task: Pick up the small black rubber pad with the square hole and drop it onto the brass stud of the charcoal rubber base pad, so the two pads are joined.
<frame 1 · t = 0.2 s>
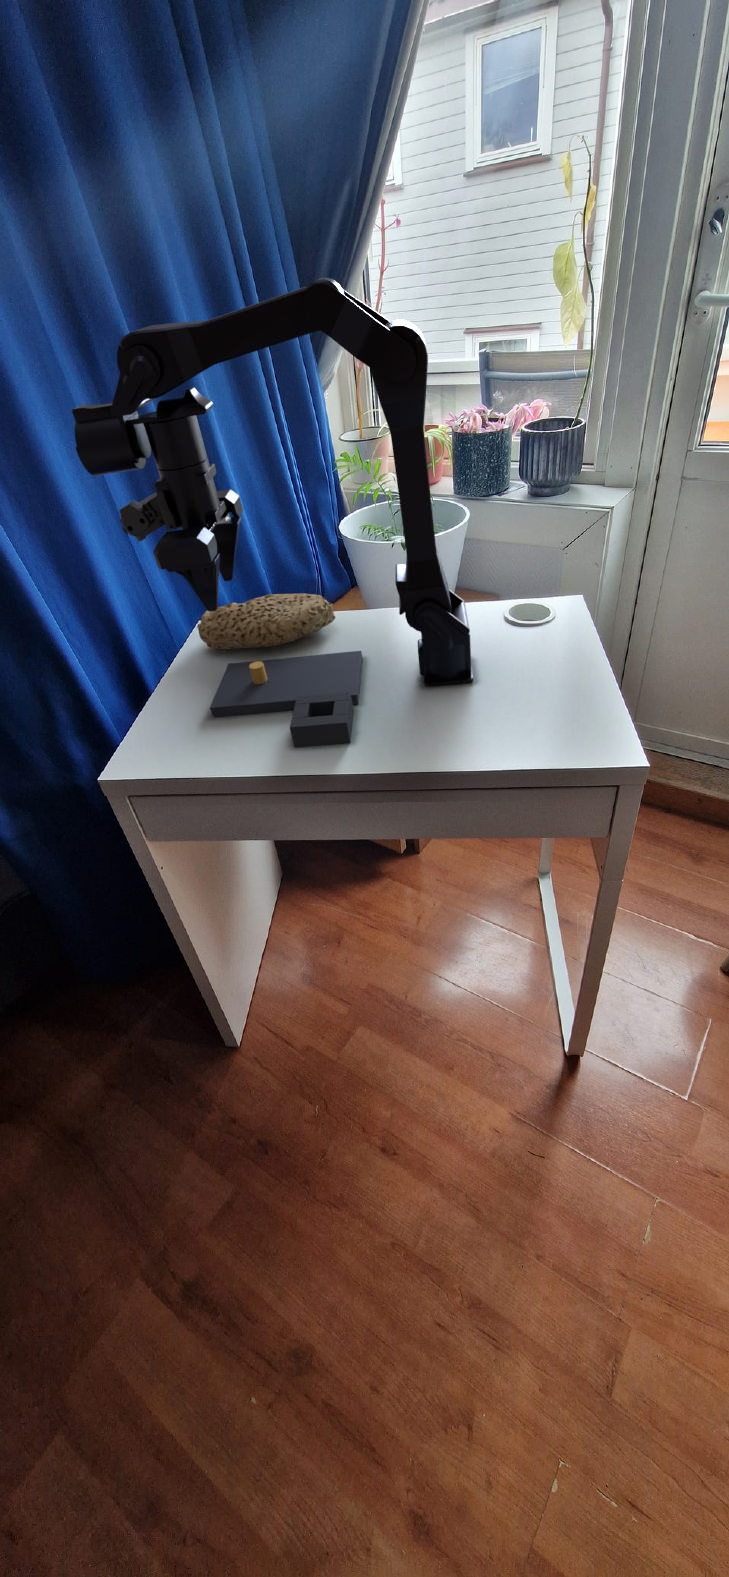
hand: (220, 595, 83), 14 cm above the table, tool pointing down, fingers open, 9 cm apart
sponge: (273, 640, 104), on the table
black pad: (324, 728, 82), on the table
base pad: (290, 687, 92), on the table
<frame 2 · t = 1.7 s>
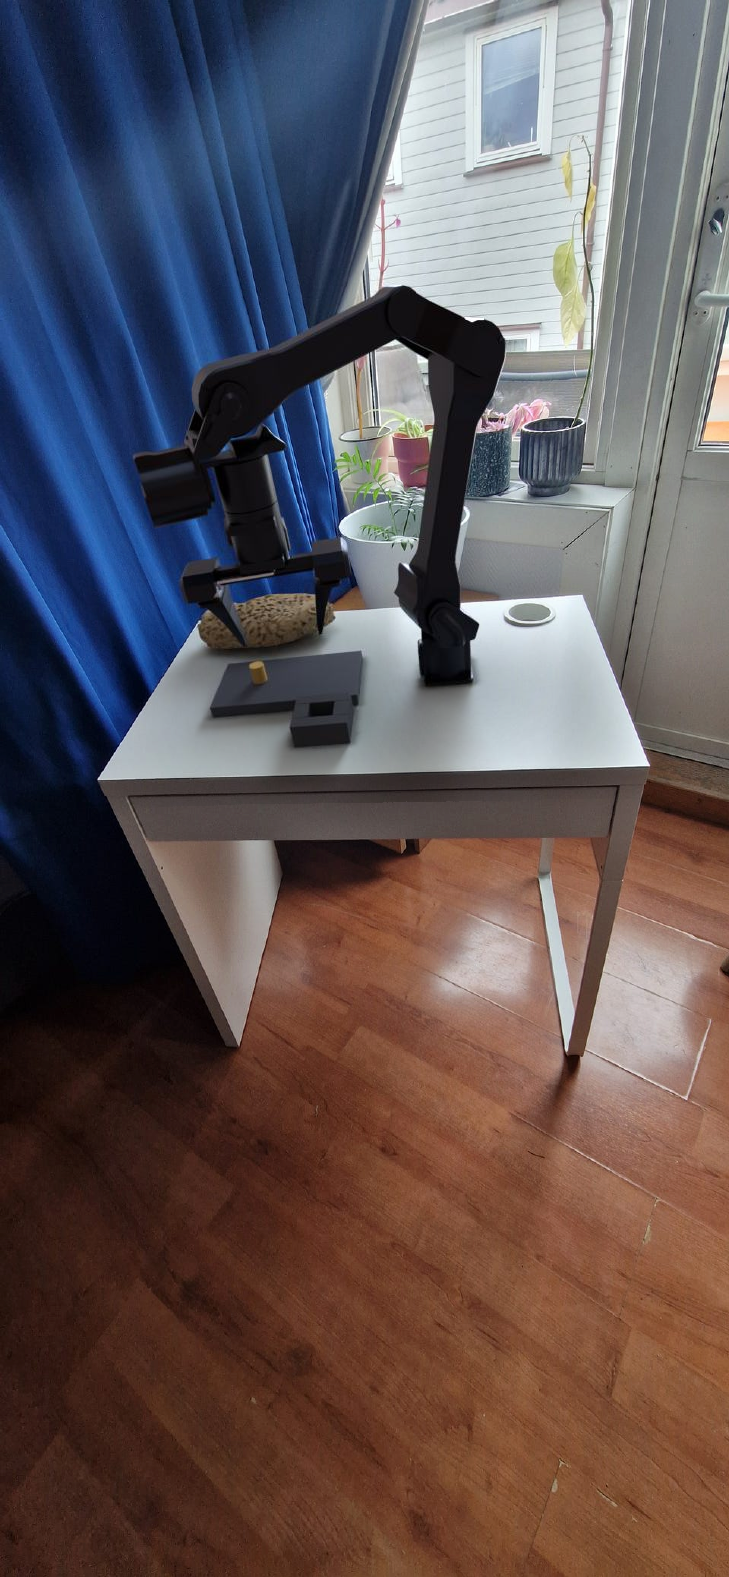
hand: (282, 639, 78), 11 cm above the table, tool pointing down, fingers open, 9 cm apart
nothing on the table moved.
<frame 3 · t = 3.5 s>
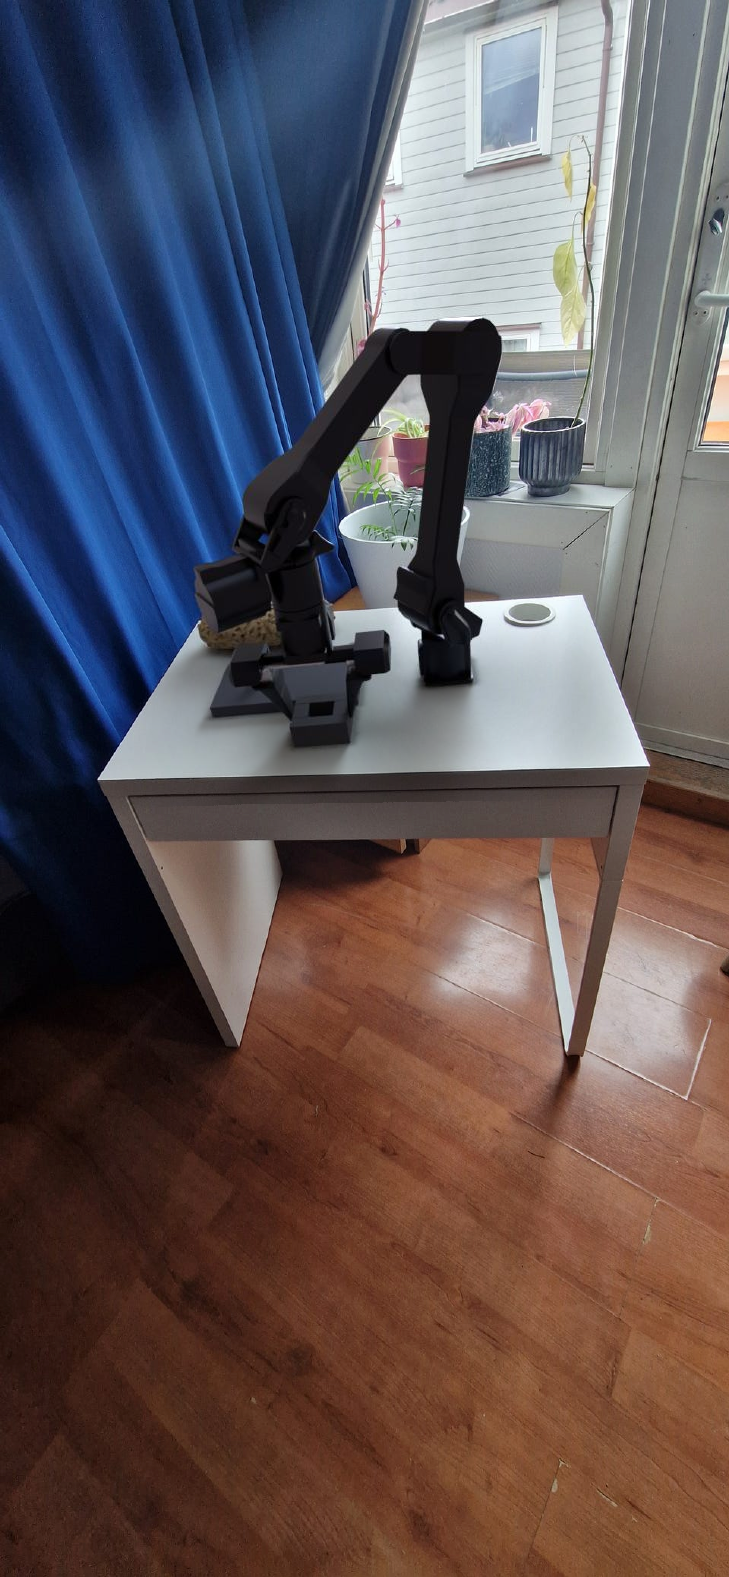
hand: (323, 718, 82), 2 cm above the table, tool pointing down, fingers closed on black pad, 7 cm apart
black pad: (324, 728, 82), on the table, touching gripper
everything else where it was.
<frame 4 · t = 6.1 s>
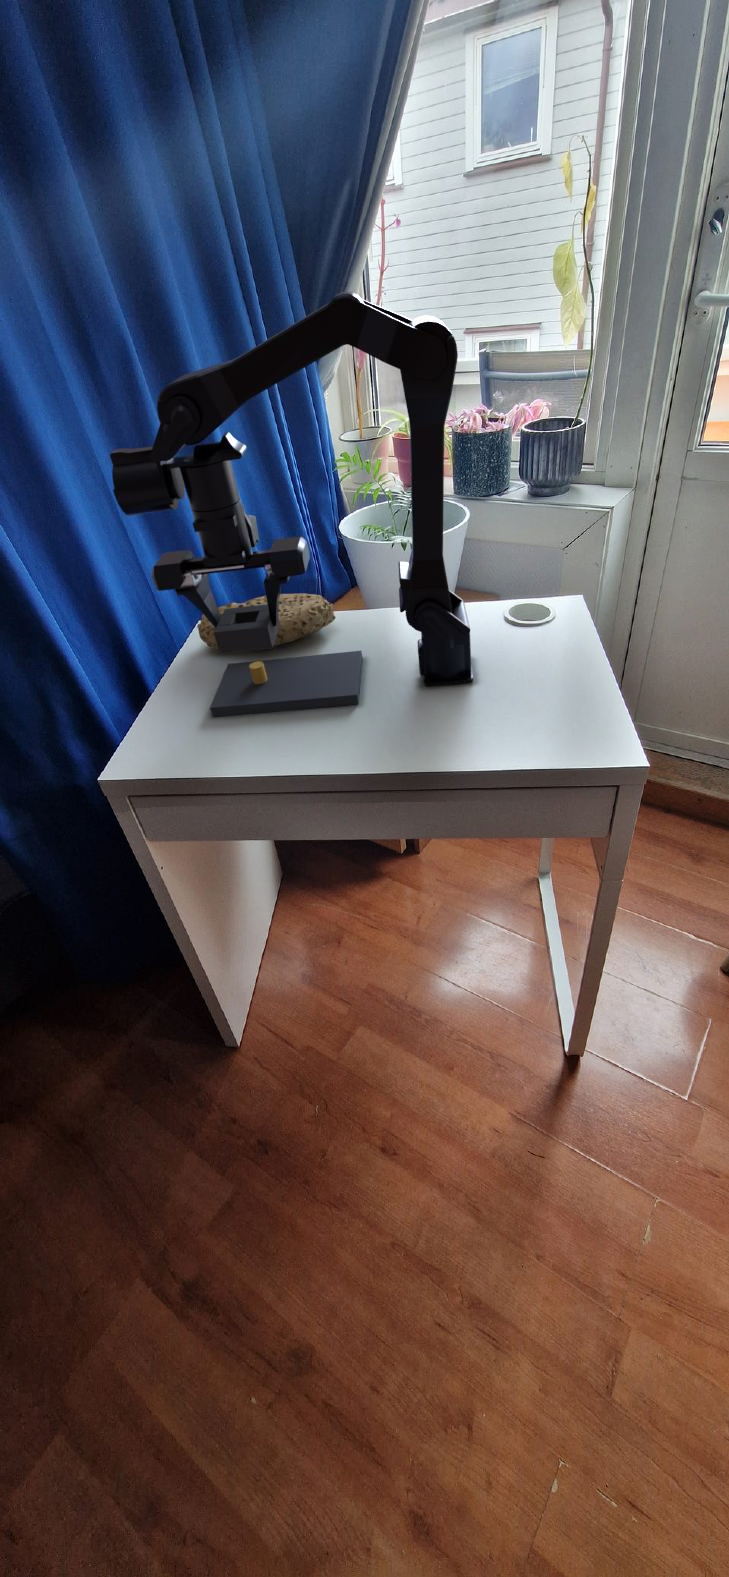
hand: (248, 627, 85), 10 cm above the table, tool pointing down, fingers closed on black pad, 7 cm apart
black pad: (250, 638, 86), point 8 cm above the table, touching gripper
everything else where it was.
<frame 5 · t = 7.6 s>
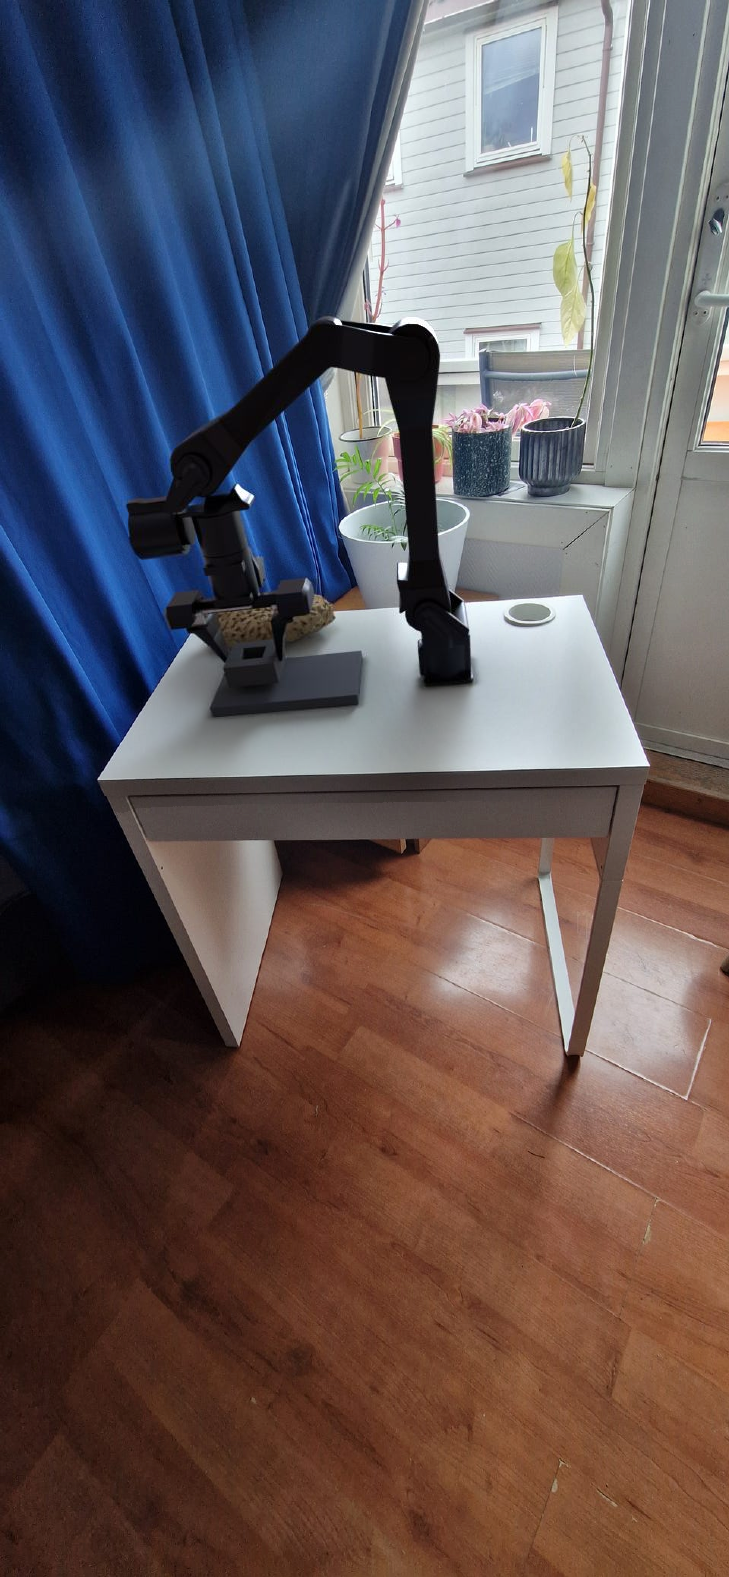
hand: (255, 662, 89), 4 cm above the table, tool pointing down, fingers closed on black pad, 7 cm apart
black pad: (258, 672, 90), point 3 cm above the table, touching gripper
everything else where it was.
when the fingers open (3 cm above the table, at t = 8.6 s): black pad stays where it is, resting on base pad.
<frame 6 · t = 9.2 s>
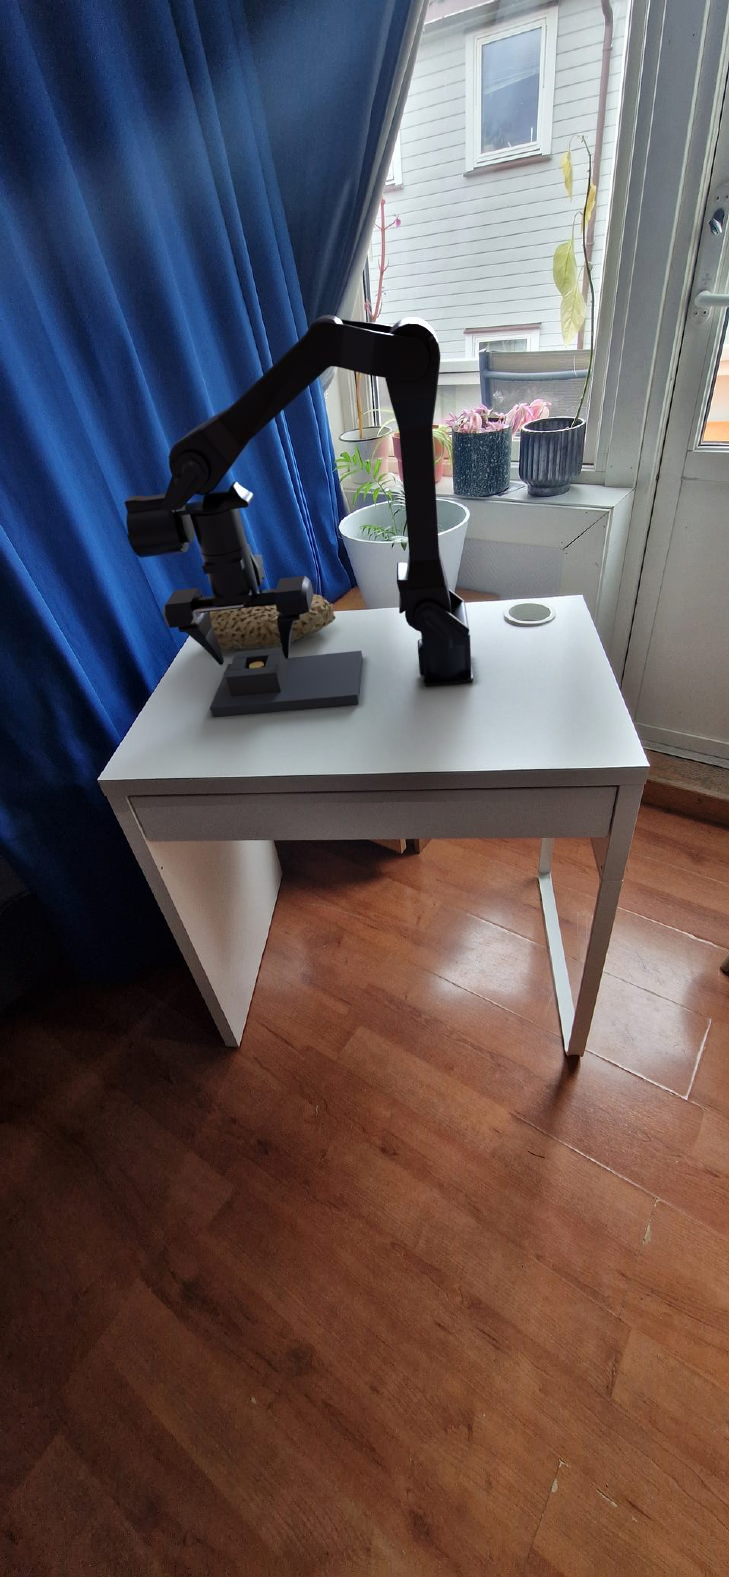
hand: (254, 660, 89), 5 cm above the table, tool pointing down, fingers open, 9 cm apart
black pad: (260, 680, 91), point 1 cm above the table, touching base pad
everything else where it was.
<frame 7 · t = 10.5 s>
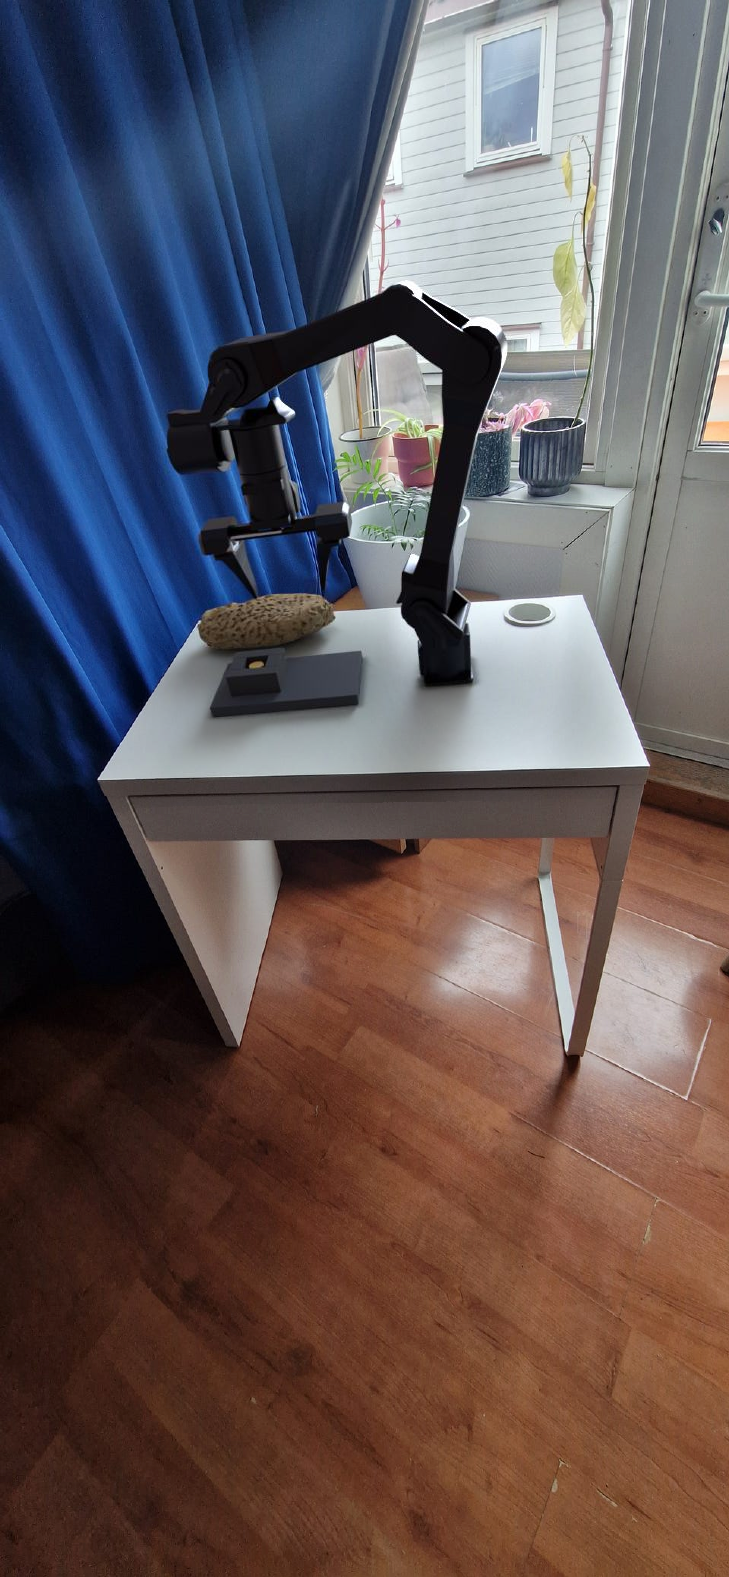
hand: (290, 593, 87), 12 cm above the table, tool pointing down, fingers open, 9 cm apart
nothing on the table moved.
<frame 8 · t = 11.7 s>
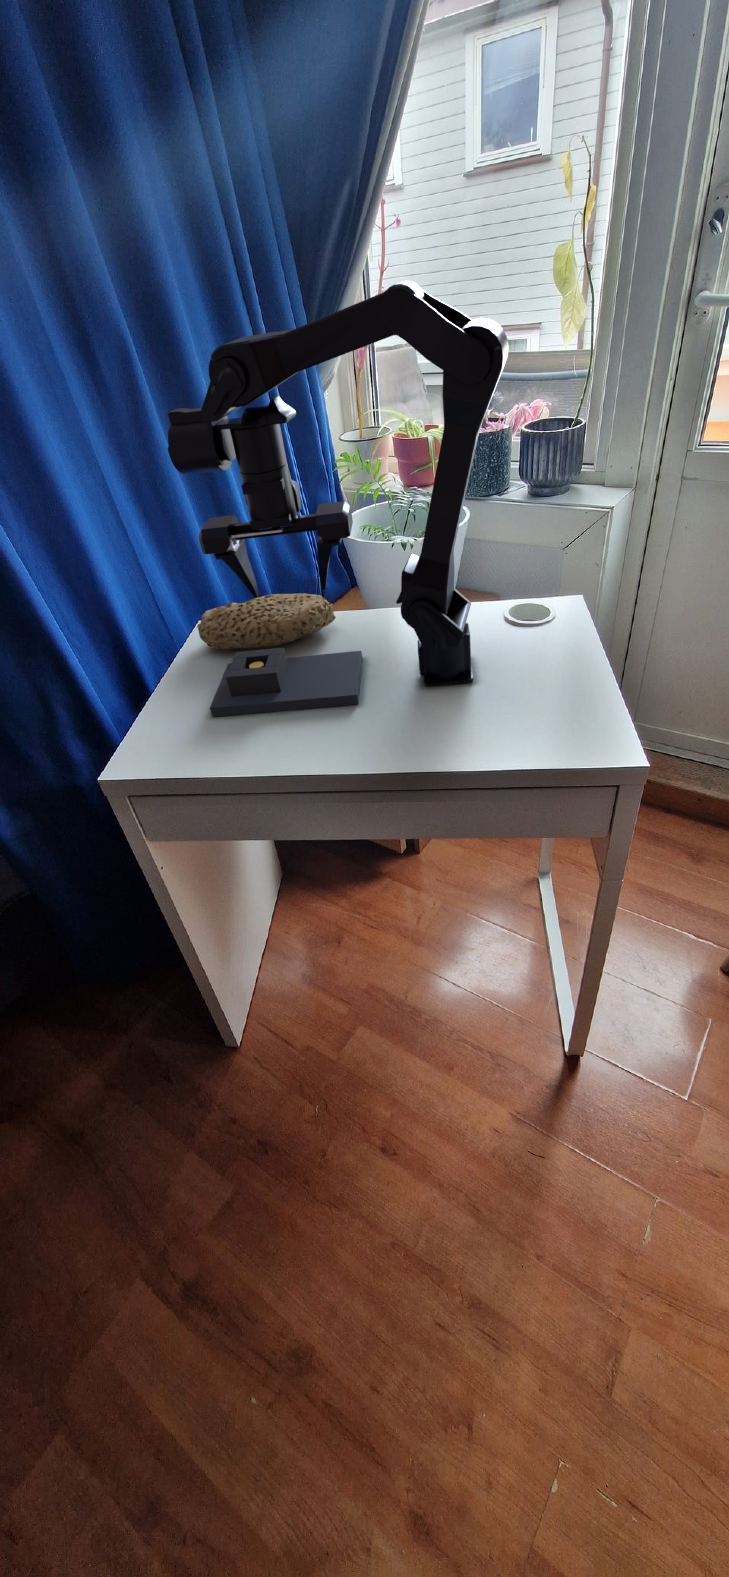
hand: (290, 593, 87), 12 cm above the table, tool pointing down, fingers open, 9 cm apart
nothing on the table moved.
at the end: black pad 0.1 cm from the target spot on the base pad, point 1.5 cm above the base pad's base; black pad tilted 0° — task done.
